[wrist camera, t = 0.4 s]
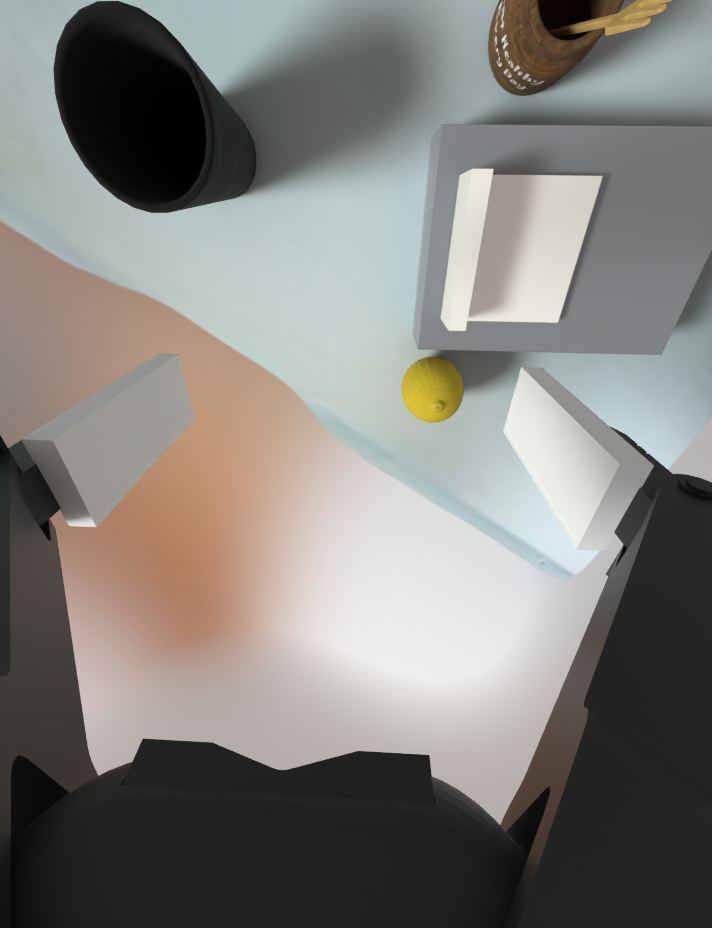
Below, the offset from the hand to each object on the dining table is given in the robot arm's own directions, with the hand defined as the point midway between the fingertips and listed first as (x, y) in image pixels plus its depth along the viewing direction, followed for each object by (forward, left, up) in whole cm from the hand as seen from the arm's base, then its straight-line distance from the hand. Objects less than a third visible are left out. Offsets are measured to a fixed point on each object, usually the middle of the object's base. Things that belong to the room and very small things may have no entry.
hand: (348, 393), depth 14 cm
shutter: (-4, +11, -17) cm, 21 cm away
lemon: (+7, +7, -23) cm, 25 cm away
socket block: (-4, +15, -23) cm, 27 cm away
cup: (-10, -11, -23) cm, 27 cm away
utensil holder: (-16, +11, -23) cm, 30 cm away
